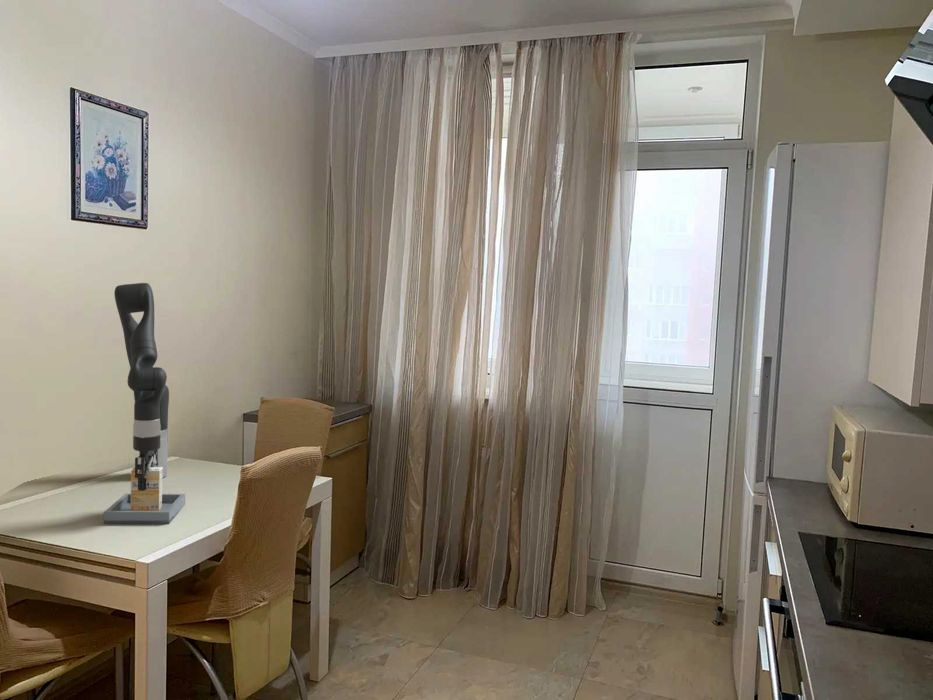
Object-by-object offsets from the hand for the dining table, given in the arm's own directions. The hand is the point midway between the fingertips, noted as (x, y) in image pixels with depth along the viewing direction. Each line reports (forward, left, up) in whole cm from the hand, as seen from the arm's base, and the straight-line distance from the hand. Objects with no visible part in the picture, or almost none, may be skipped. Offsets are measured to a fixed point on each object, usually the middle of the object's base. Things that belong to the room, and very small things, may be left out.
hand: (146, 486), depth 214 cm
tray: (0, 0, -9) cm, 9 cm away
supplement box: (0, 0, -8) cm, 8 cm away
